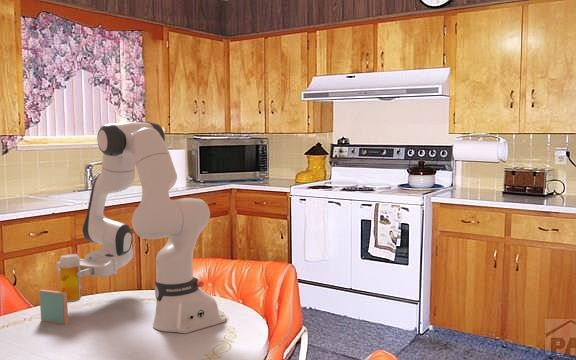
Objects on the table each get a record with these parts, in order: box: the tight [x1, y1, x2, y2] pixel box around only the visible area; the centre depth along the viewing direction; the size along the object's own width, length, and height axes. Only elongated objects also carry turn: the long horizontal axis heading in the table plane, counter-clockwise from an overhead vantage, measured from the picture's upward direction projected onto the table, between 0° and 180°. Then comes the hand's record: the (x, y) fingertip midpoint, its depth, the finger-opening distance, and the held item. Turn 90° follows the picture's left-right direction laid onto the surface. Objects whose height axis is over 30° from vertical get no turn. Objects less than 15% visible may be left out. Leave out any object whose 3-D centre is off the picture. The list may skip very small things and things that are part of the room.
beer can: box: [59, 253, 83, 304], centre depth 179 cm, size 6×6×15 cm
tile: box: [38, 289, 69, 325], centre depth 172 cm, size 1×10×10 cm, turn 69°
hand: (68, 273), depth 178 cm, fingers closed on beer can, 6 cm apart
